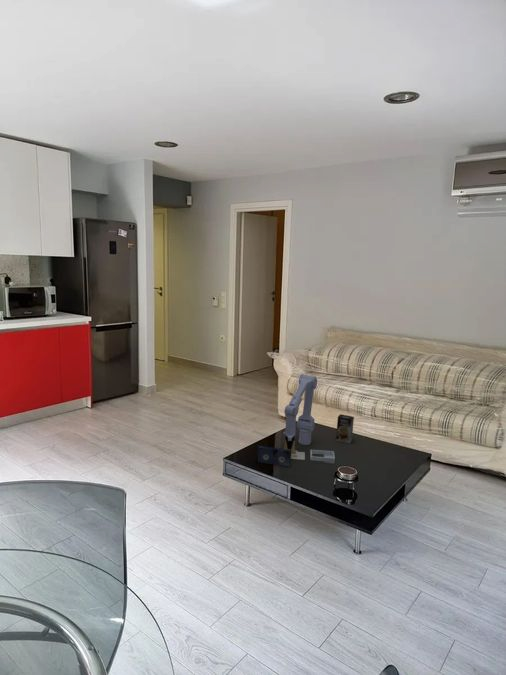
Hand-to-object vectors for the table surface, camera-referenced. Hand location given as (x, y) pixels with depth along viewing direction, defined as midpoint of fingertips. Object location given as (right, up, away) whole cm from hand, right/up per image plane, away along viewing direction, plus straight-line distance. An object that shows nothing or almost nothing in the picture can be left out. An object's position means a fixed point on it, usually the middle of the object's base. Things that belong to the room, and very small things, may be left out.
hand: (289, 447), depth 262 cm
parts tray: (+19, -6, -1) cm, 20 cm away
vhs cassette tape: (-10, -7, -11) cm, 16 cm away
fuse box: (0, -5, +1) cm, 5 cm away
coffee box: (+37, -2, +27) cm, 46 cm away
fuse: (0, -2, 0) cm, 2 cm away
